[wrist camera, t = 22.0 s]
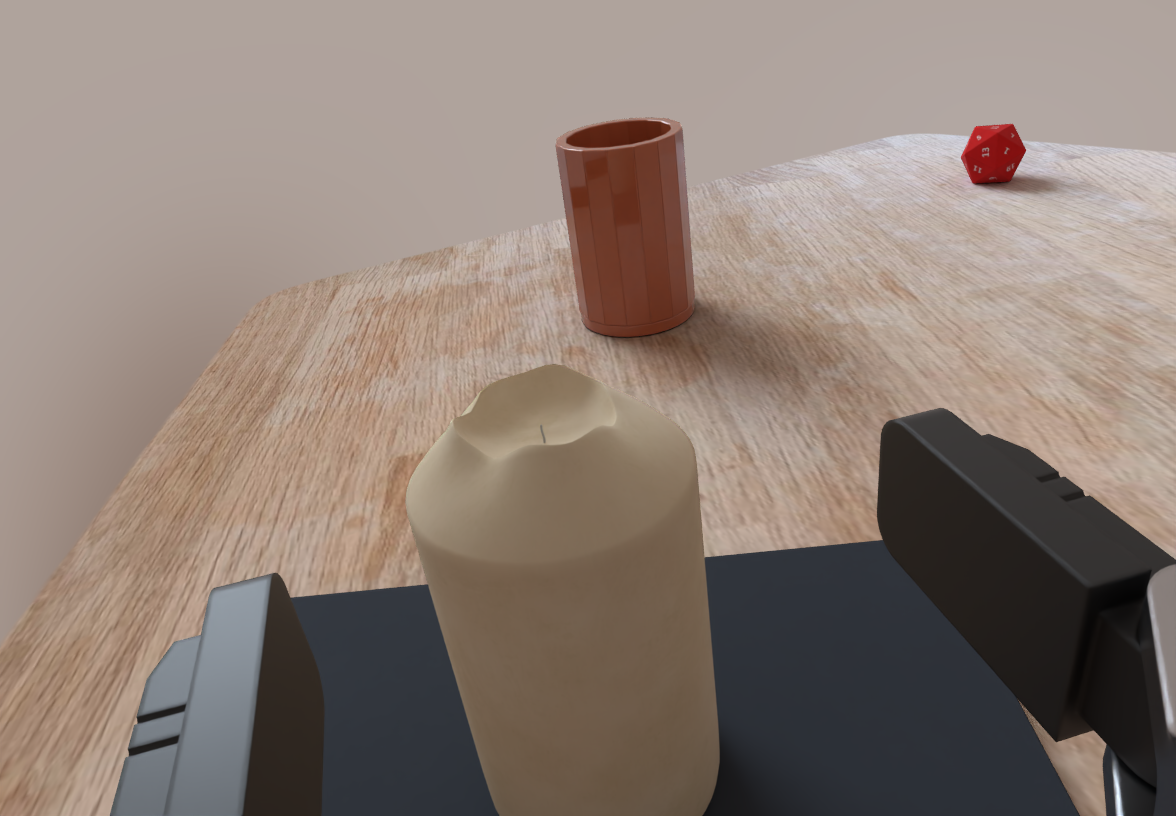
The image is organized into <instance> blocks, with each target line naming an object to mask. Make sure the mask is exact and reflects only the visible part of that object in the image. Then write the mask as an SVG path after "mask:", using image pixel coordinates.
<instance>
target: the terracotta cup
mask: <svg viewBox="0 0 1176 816" xmlns="http://www.w3.org/2000/svg"><path fill="white" fill-rule="evenodd" d="M556 152H557V159H558V166H559V172H560V179H561V186H562V193H563V200H564V206H565V213H566V220H567V227H568V234H569V240H570V247H571V254H572V261H573V268H574V274H575V281H576V288H577V295H578V302H579V309H580V312H581V317H582V322H583V324H584V325H585V326H586V327H587V328H588V329H590V330H592V331H594V332H596V333H599V334H603V335H608V336H617V337H634V336H644V335H650V334H655V333H659V332H663V331H666V330H669V329H671V328H674V327H676V326H678V325H680V324H682V323H683V322H685V321H686V320H687V319H688V318H690V316H691V315H692V314H693V312H694V309H695V302H694V299H695V292H694V279H693V265H692V252H691V238H690V225H689V211H688V198H687V184H686V171H685V157H684V144H683V130H682V126H681V124H680V123H679V122H677V121H673V120H670V119H665V118H629V119H621V120H613V121H606V122H601V123H596V124H592V125H588V126H584V127H581V128H578V129H575V130H572V131H569V132H567V133H565V134H563V135H562V136H560V137H559V138H557V140H556Z"/></svg>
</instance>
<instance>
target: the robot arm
mask: <svg viewBox="0 0 1176 816" xmlns="http://www.w3.org/2000/svg"><path fill="white" fill-rule="evenodd" d="M877 519H878V525H879V529H880V533H881V536H882V539H883V541H884V543H885V545H886V547H887V549H888V551H889V553H890V554H891V556H892V557H893V558H894V559H895V560H896V562H897V563H898V564H899V565H900V566H901V567H902V568H903V570H904V571H905V572H906V573H907V574H908V575H909V576H910V577H911V579H912V580H913V581H914V582H915V583H916V584H917V585H918V587H919V588H920V589H921V590H922V591H923V592H924V593H925V594H926V596H927V597H928V598H929V599H930V600H931V601H932V602H933V603H934V605H935V606H936V607H937V608H938V609H939V610H940V611H941V613H942V614H943V615H944V616H945V617H946V618H947V619H948V620H949V622H950V623H951V624H952V625H953V626H954V627H955V628H956V630H957V631H958V632H959V633H960V634H961V635H962V636H963V637H964V639H965V640H966V641H967V642H968V643H969V644H970V645H971V646H972V648H973V649H974V650H975V651H976V652H977V653H978V654H979V656H980V657H981V658H982V659H983V660H984V661H985V662H986V663H987V665H988V666H989V667H990V668H991V669H992V670H993V671H994V673H995V674H996V675H997V676H998V677H999V678H1000V679H1001V680H1002V682H1003V683H1004V684H1005V685H1006V686H1007V687H1008V688H1009V690H1010V691H1011V692H1012V693H1013V694H1014V695H1015V696H1016V697H1017V699H1018V700H1019V701H1020V702H1021V703H1022V704H1023V705H1024V706H1025V708H1026V709H1027V710H1028V711H1029V712H1030V713H1031V714H1032V716H1033V717H1034V718H1035V719H1036V720H1037V721H1038V722H1039V723H1040V725H1041V726H1042V727H1043V728H1044V729H1045V730H1046V731H1047V733H1048V734H1049V735H1050V736H1051V737H1052V738H1053V739H1054V740H1055V742H1058V741H1062V740H1065V739H1068V738H1071V737H1074V736H1077V735H1080V734H1083V733H1087V732H1090V731H1093V730H1094V731H1095V732H1096V733H1097V734H1098V735H1099V736H1100V737H1101V738H1102V739H1103V740H1104V742H1105V743H1106V744H1107V745H1106V749H1105V753H1104V756H1103V776H1104V789H1105V802H1106V815H1107V816H1176V560H1175V559H1174V558H1173V557H1171V556H1170V555H1169V554H1167V553H1166V552H1165V551H1163V550H1162V549H1161V548H1159V547H1158V546H1157V545H1155V544H1154V543H1153V542H1151V541H1150V540H1149V539H1147V538H1146V537H1145V536H1143V535H1142V534H1141V533H1139V532H1138V531H1137V530H1135V529H1134V528H1133V527H1131V526H1130V525H1129V524H1127V523H1126V522H1125V521H1123V520H1122V519H1121V518H1119V517H1118V516H1117V515H1115V514H1114V513H1113V512H1111V511H1110V510H1109V509H1107V508H1106V507H1105V506H1103V505H1102V504H1101V503H1099V502H1098V501H1097V500H1095V499H1094V498H1093V497H1091V496H1085V495H1084V493H1083V490H1082V489H1080V488H1079V487H1078V486H1076V485H1075V484H1074V483H1072V482H1071V481H1070V480H1068V479H1067V478H1066V477H1060V476H1059V472H1058V471H1056V470H1055V469H1054V468H1052V467H1051V466H1050V465H1048V464H1047V463H1046V462H1044V461H1043V460H1042V459H1040V458H1039V457H1038V456H1036V455H1035V454H1034V453H1032V452H1031V451H1030V450H1028V449H1026V448H1023V447H1021V446H1018V445H1015V444H1013V443H1010V442H1008V441H1005V440H1003V439H1000V438H998V437H995V436H993V435H990V434H987V435H983V436H981V435H980V434H979V433H977V432H976V431H975V430H974V429H972V428H971V427H970V426H968V425H967V424H966V423H965V422H963V421H962V420H961V419H959V418H958V417H957V416H956V415H954V414H953V413H952V412H950V411H949V410H947V409H944V408H938V409H934V410H930V411H926V412H922V413H918V414H914V415H910V416H906V417H902V418H898V419H894V420H890V421H888V422H886V424H885V425H884V427H883V429H882V433H881V443H880V463H879V483H878V502H877ZM324 716H325V709H324V696H323V689H322V683H321V679H320V674H319V670H318V667H317V664H316V661H315V658H314V656H313V653H312V651H311V648H310V646H309V643H308V641H307V638H306V636H305V633H304V631H303V628H302V626H301V623H300V621H299V618H298V616H297V613H296V611H295V608H294V606H293V603H292V601H291V598H290V596H289V593H288V591H287V588H286V586H285V583H284V581H283V580H282V578H281V577H280V575H279V574H278V573H273V574H269V575H265V576H261V577H257V578H253V579H249V580H245V581H241V582H237V583H233V584H229V585H225V586H221V587H217V588H214V589H213V590H212V591H211V593H210V595H209V599H208V604H207V608H206V613H205V618H204V623H203V627H202V632H201V635H199V636H195V637H192V638H188V639H184V640H180V641H176V642H174V643H173V644H172V646H171V647H170V648H169V650H168V651H167V652H166V654H165V655H164V656H163V658H162V659H161V661H160V662H159V663H158V665H157V666H156V667H155V669H154V670H153V672H152V673H151V674H150V676H149V677H148V678H147V681H146V684H145V688H144V692H143V695H142V699H141V703H140V706H139V710H138V714H137V721H138V724H136V725H134V728H133V732H132V736H131V739H130V743H129V747H128V751H129V757H126V758H125V761H124V765H123V769H122V772H121V776H120V780H119V784H118V787H117V791H116V795H115V798H114V802H113V806H112V809H111V813H110V816H322V783H323V749H324Z"/></svg>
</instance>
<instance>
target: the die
mask: <svg viewBox="0 0 1176 816" xmlns="http://www.w3.org/2000/svg"><path fill="white" fill-rule="evenodd" d="M1025 152H1026V149H1025V147H1024V145H1023V143H1022V141H1021V139H1020V137H1019V135H1018V133H1017V131H1016V129H1015V127H1014V125H1013V124H1005V125H991V126H976V127H975V128H974V130H973V133H972V134H971V137H970V139H969V141H968V143H967V145H966V147H965V149H964V152H963V154H962V156H961V159H962V161H963V163H964V166H965V168H966V170H967V172H968V174H969V177H970V179H971V181H972V183H992V182H1009V181H1011V179H1012V177H1013V175H1014V173H1015V171H1016V169H1017V167H1018V165H1019V163H1020V162H1021V160H1022V158H1023V156H1024V154H1025Z"/></svg>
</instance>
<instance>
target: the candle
mask: <svg viewBox="0 0 1176 816" xmlns="http://www.w3.org/2000/svg"><path fill="white" fill-rule="evenodd" d="M406 509H407V515H408V518H409V522H410V525H411V529H412V532H413V535H414V539H415V542H416V546H417V549H418V552H419V556H420V559H421V563H422V566H423V569H424V573H425V576H426V580H427V583H428V586H429V590H430V593H431V597H432V600H433V603H434V607H435V610H436V614H437V617H438V620H439V624H440V627H441V631H442V634H443V637H444V641H445V644H446V648H447V651H448V654H449V658H450V661H451V665H452V668H453V671H454V675H455V678H456V682H457V685H458V688H459V692H460V695H461V699H462V702H463V705H464V709H465V712H466V716H467V719H468V722H469V726H470V729H471V733H472V736H473V739H474V743H475V746H476V750H477V753H478V756H479V760H480V763H481V767H482V770H483V773H484V776H485V779H486V782H487V785H488V788H489V791H490V795H491V797H492V800H493V803H494V806H495V808H496V810H497V812H498V814H499V815H500V816H702V815H703V814H704V812H705V811H706V809H707V807H708V805H709V803H710V801H711V799H712V796H713V793H714V789H715V786H716V782H717V776H718V769H719V763H720V749H719V729H718V716H717V703H716V691H715V679H714V667H713V655H712V643H711V631H710V619H709V607H708V594H707V582H706V570H705V558H704V546H703V534H702V522H701V510H700V498H699V486H698V474H697V463H696V456H695V451H694V447H693V445H692V443H691V441H690V439H689V437H688V436H687V435H686V433H685V432H684V431H683V430H682V429H681V428H680V427H679V426H678V425H677V424H676V423H675V422H674V421H672V420H671V419H669V418H668V417H666V416H665V415H663V414H662V413H660V412H659V411H657V410H656V409H654V408H653V407H651V406H649V405H648V404H646V403H644V402H643V401H641V400H639V399H637V398H635V397H633V396H631V395H629V394H627V393H625V392H623V391H620V390H618V389H616V388H613V387H611V386H609V385H607V384H605V383H603V382H601V381H599V380H597V379H595V378H592V377H590V376H587V375H585V374H583V373H581V372H578V371H576V370H574V369H572V368H569V367H567V366H564V365H556V364H552V365H545V366H542V367H538V368H535V369H533V370H530V371H527V372H524V373H521V374H518V375H514V376H511V377H507V378H504V379H501V380H498V381H496V382H493V383H491V384H489V385H488V386H486V387H485V388H484V389H483V390H482V391H481V392H480V393H479V394H478V395H477V397H476V398H475V399H474V401H473V402H472V403H471V404H470V406H469V407H468V408H467V409H466V410H465V411H464V413H463V414H462V415H461V416H460V417H457V418H454V419H453V420H452V421H451V423H450V425H449V427H448V428H447V430H446V431H445V432H444V433H443V434H442V436H441V437H440V438H439V439H438V440H437V441H436V443H435V444H434V445H433V446H432V447H431V449H430V450H429V451H428V453H427V454H426V455H425V457H424V458H423V460H422V461H421V462H420V464H419V465H418V467H417V468H416V469H415V471H414V473H413V475H412V477H411V479H410V481H409V485H408V488H407V491H406Z"/></svg>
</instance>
